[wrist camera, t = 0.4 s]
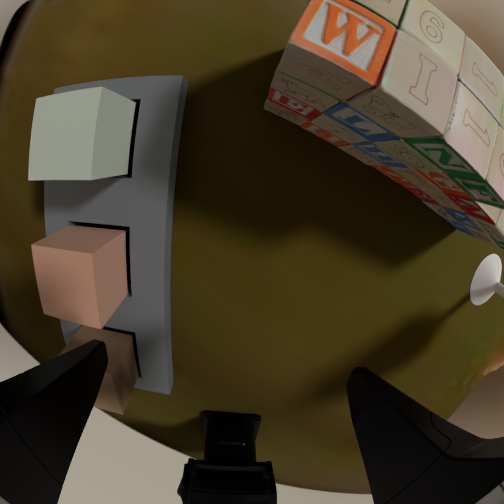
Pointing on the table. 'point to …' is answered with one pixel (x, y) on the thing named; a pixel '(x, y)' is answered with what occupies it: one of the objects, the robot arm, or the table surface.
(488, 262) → the champagne flute
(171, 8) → the table surface
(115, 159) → the pale green cube
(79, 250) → the salmon pink cube
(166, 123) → the key board
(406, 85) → the stack of blocks
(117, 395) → the walnut key
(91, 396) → the robot arm
